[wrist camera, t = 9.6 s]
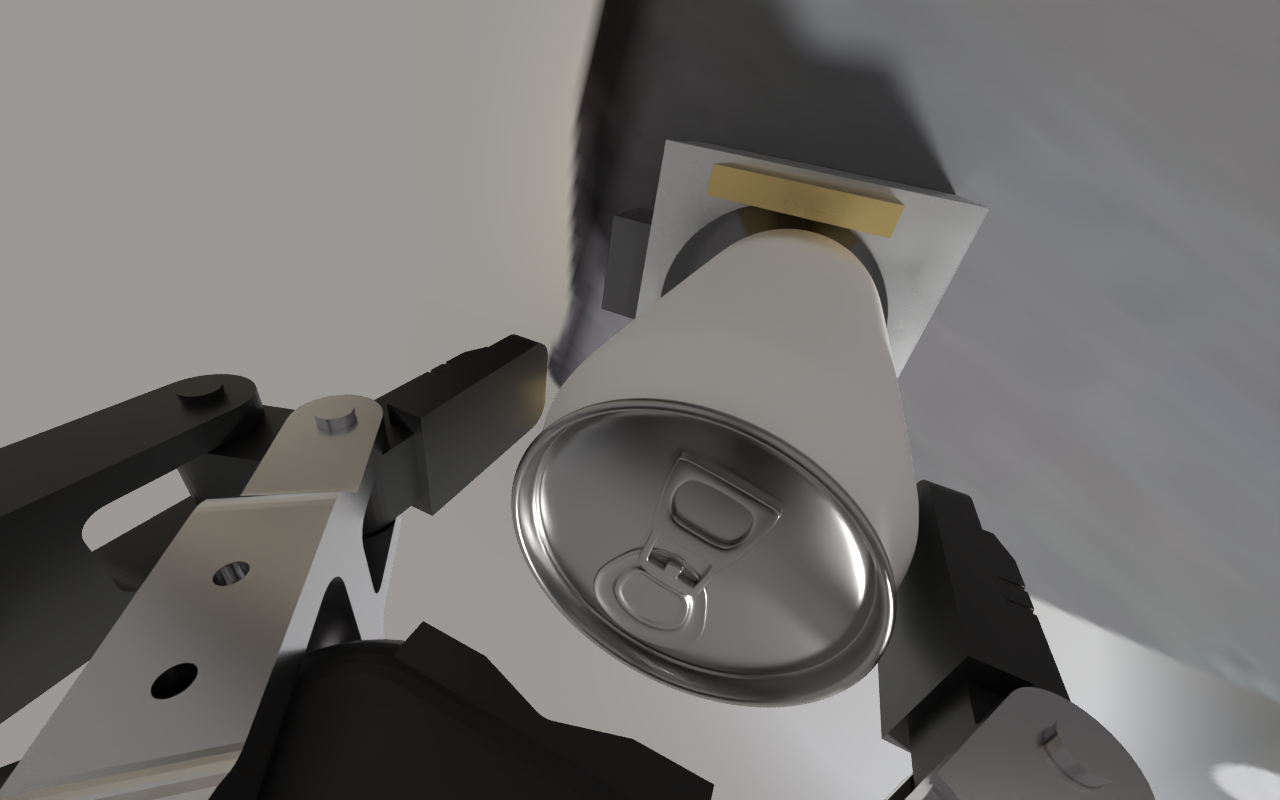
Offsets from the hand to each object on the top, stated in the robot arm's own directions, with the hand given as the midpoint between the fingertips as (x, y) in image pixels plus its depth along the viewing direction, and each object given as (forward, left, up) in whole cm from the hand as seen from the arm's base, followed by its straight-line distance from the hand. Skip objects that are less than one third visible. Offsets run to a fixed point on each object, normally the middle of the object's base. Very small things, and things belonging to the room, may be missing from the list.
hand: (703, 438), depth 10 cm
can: (0, 0, -9) cm, 9 cm away
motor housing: (0, 0, -14) cm, 14 cm away
